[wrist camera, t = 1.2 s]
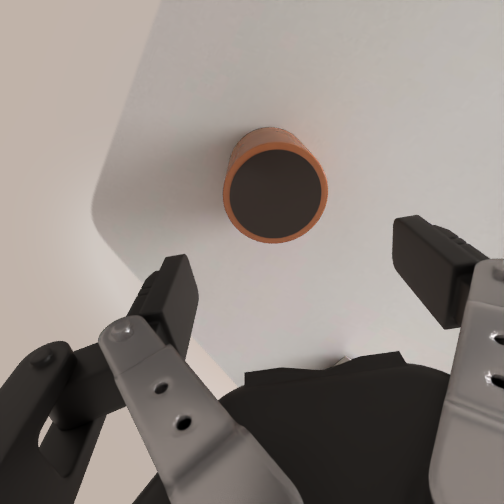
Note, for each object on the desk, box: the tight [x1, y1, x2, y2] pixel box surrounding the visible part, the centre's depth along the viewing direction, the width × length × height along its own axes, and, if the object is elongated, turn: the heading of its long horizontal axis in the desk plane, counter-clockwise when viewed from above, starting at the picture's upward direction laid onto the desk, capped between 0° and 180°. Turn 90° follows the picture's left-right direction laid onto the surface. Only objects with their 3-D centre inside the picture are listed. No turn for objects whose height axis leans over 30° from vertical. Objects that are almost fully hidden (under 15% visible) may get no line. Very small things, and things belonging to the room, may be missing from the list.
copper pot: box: [223, 127, 328, 243], centre depth 21 cm, size 6×6×7 cm
